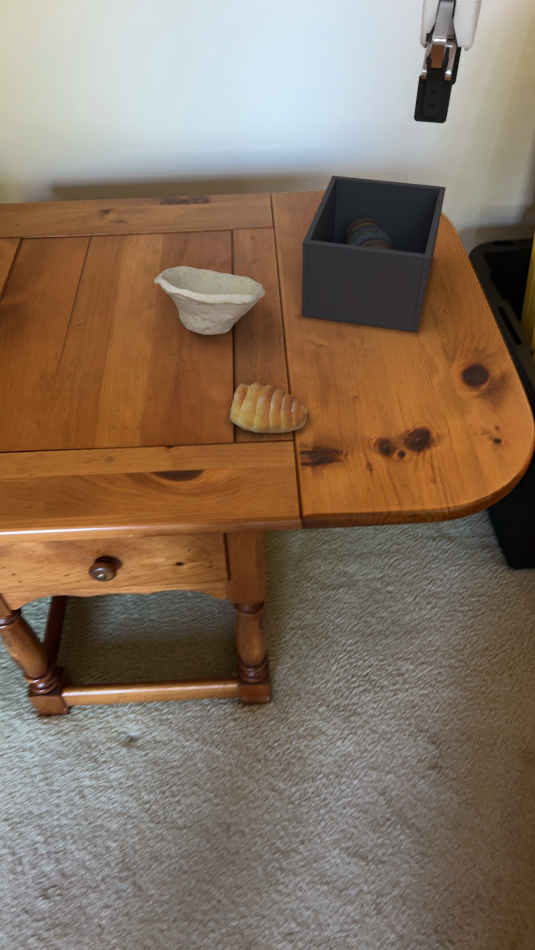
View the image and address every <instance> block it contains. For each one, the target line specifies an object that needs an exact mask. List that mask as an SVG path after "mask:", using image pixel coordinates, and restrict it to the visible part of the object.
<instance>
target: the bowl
mask: <svg viewBox="0 0 535 950" xmlns="http://www.w3.org/2000/svg"><path fill="white" fill-rule="evenodd" d="M153 283H154V284H156V285H158V286H159V287H160V288H161V289H162V291H163V292H164V293H165V294H166V295H168V296H169V297H170V298H171V299H172V301H173V303H174V304H175V306H176V308H177V311H178V318H179V319H180V321H181V323H182V325H183V326H184V327H185V329H186V330H188V331H190V332H193V333H196V334H200V335H204V336H213V335H223V334H226V333H227V332H229V331H230V330H231V329H232V328H233V326H234V325H235V323H237V322H238V321H239V320H240V319H241V318H242V317H243V316H245V315H246V314H247V313H248V312H249V311H250V310H251V309H252V308H253V307H254V306H255V305H256V304H257V303H258V302H259V300H260V299H261V298H263V297H264V296H265V295H266V291H265V289H264V287H263V284H261V283H259V282H257V281H255V280H254V279H252V278H251V277H248V276H243V275H242V276H241V275H236V274H231V273H228V272H227V273H225V272H218V271H216V270H215V271H214V270H211V269H203V268H202V269H201V268H196V267H191V266H185V265H180V266H175V267H168V268H166V269H164V270H163V271H161V273H160V274H158V276H157V277H155V278H154V279H153Z"/></svg>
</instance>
